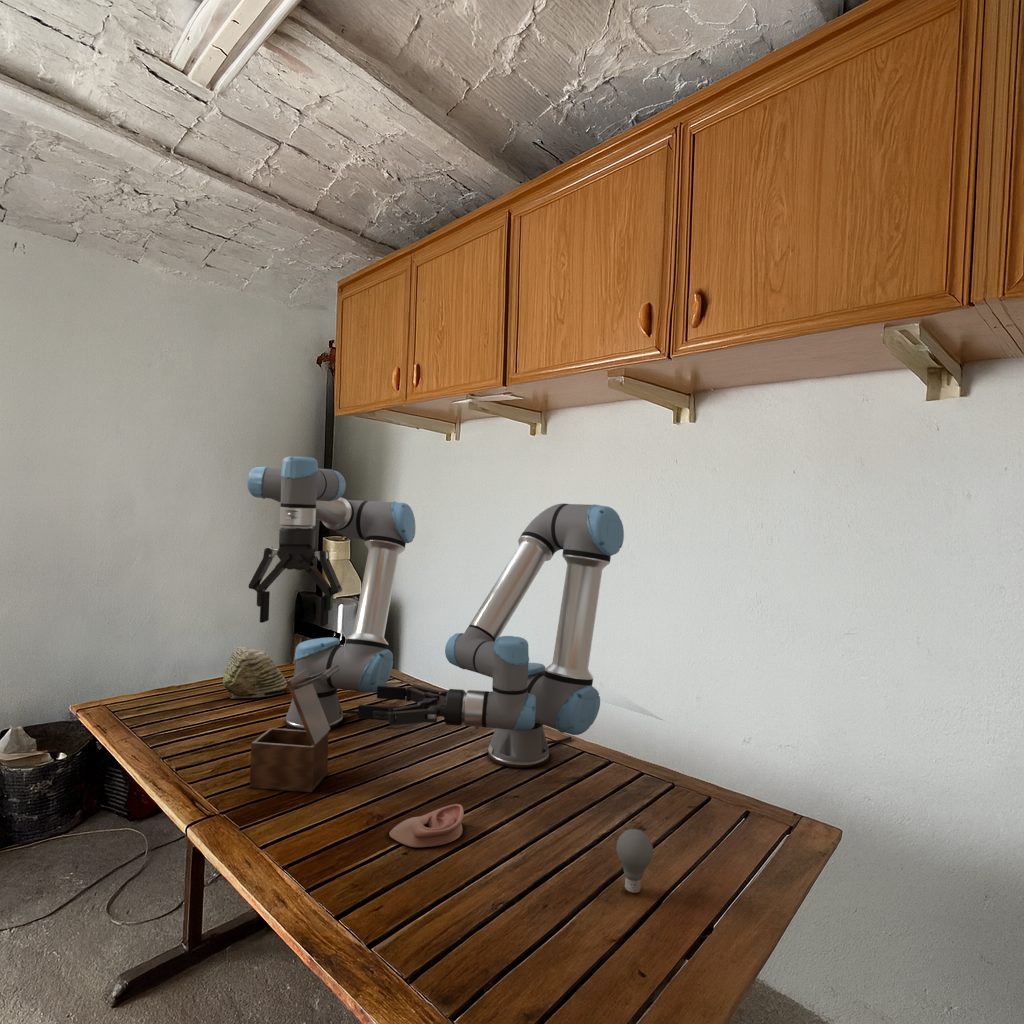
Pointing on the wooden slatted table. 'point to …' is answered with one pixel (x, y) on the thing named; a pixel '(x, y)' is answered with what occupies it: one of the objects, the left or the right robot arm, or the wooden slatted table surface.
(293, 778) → the chest
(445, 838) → the anatomical model
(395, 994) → the wooden slatted table surface
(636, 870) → the light bulb
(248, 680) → the fossil
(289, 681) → the lid
